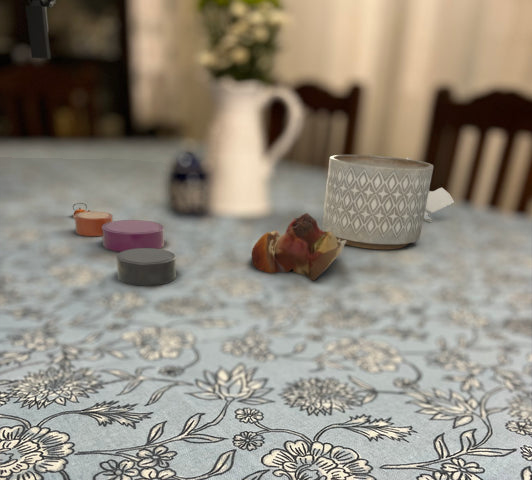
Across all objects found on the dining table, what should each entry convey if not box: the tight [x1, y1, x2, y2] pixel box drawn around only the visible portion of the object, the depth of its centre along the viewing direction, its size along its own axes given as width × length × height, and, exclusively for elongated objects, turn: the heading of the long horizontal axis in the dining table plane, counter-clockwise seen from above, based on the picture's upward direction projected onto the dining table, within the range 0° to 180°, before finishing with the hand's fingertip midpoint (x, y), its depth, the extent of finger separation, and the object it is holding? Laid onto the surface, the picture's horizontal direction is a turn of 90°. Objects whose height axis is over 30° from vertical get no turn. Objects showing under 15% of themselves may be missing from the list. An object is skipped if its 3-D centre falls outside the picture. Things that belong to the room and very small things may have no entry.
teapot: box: [72, 202, 91, 219], centre depth 102 cm, size 3×3×3 cm
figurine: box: [406, 157, 455, 223], centre depth 120 cm, size 15×12×14 cm
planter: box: [322, 154, 434, 250], centre depth 97 cm, size 19×19×14 cm
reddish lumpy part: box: [251, 212, 346, 281], centre depth 82 cm, size 16×13×10 cm
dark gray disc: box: [115, 248, 177, 287], centre depth 72 cm, size 8×8×3 cm
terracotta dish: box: [73, 211, 114, 237], centre depth 92 cm, size 6×6×3 cm
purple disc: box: [101, 219, 165, 253], centre depth 87 cm, size 10×10×3 cm
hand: (9, 54), depth 71 cm, fingers open, 13 cm apart
